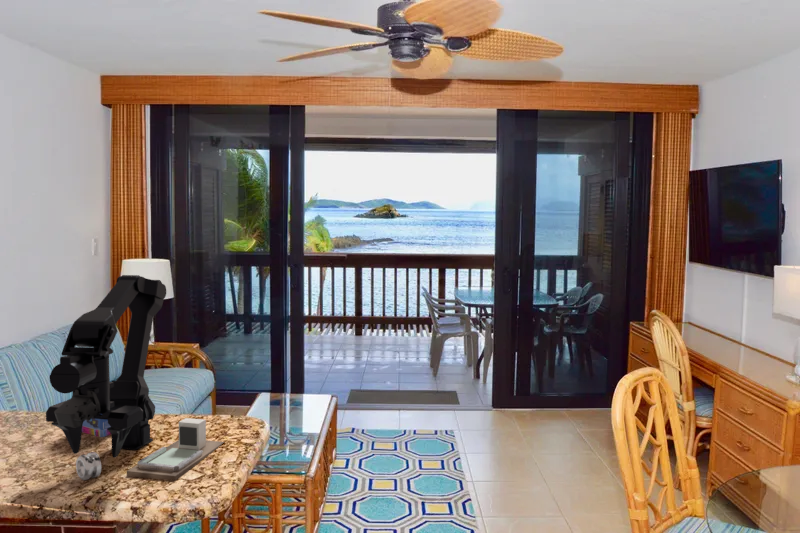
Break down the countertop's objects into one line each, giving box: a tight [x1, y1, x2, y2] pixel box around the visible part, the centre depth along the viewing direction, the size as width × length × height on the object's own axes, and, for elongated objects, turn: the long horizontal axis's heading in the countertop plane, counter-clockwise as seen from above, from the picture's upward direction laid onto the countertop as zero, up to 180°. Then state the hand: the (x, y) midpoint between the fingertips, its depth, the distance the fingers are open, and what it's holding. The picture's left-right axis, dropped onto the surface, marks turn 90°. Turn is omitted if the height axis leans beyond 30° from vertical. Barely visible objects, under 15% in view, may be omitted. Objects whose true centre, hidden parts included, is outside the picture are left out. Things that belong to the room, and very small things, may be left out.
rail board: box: [126, 439, 225, 481], centre depth 131 cm, size 11×20×1 cm, turn 168°
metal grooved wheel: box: [75, 451, 102, 481], centre depth 122 cm, size 5×3×5 cm, turn 52°
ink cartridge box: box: [82, 418, 111, 438], centre depth 148 cm, size 10×6×14 cm, turn 61°
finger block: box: [178, 417, 207, 450], centre depth 136 cm, size 5×3×6 cm
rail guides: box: [137, 446, 202, 472], centre depth 128 cm, size 10×10×1 cm
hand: (95, 455), depth 123 cm, fingers open, 9 cm apart
